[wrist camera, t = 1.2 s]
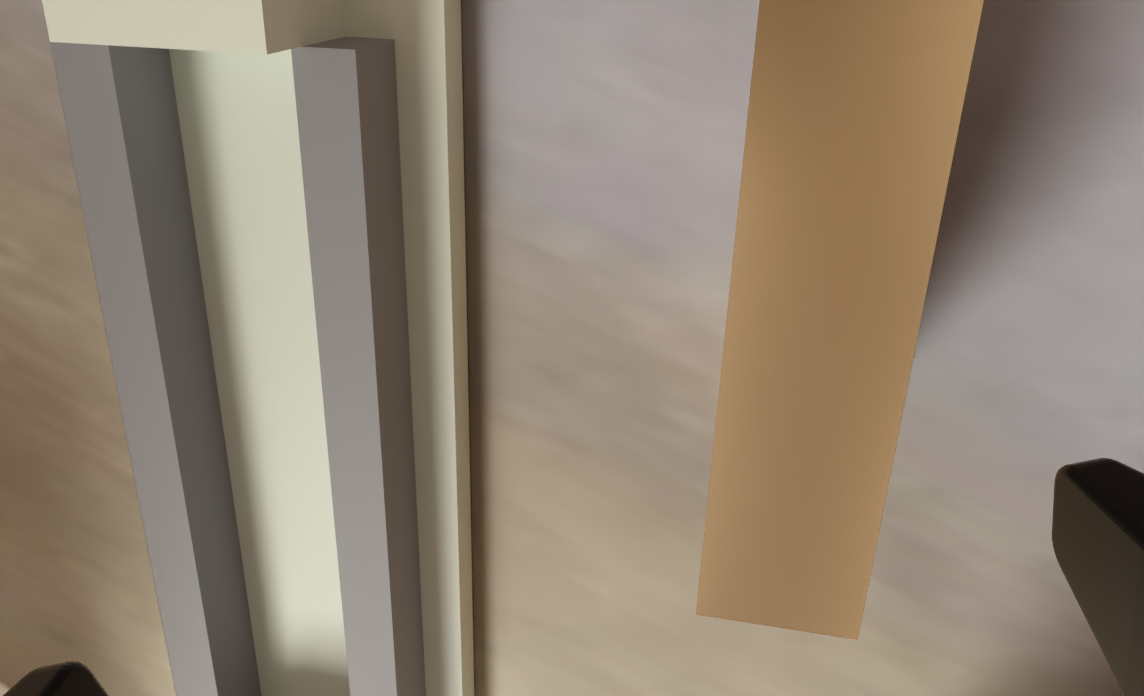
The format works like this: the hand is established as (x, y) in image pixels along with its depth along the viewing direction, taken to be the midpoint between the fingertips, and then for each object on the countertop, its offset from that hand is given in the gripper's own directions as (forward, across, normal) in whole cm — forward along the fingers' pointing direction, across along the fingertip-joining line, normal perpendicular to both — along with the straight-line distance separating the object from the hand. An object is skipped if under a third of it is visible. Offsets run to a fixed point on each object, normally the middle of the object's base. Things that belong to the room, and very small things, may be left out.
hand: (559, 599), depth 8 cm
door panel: (+11, -5, +2) cm, 12 cm away
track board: (+13, +7, +5) cm, 16 cm away
